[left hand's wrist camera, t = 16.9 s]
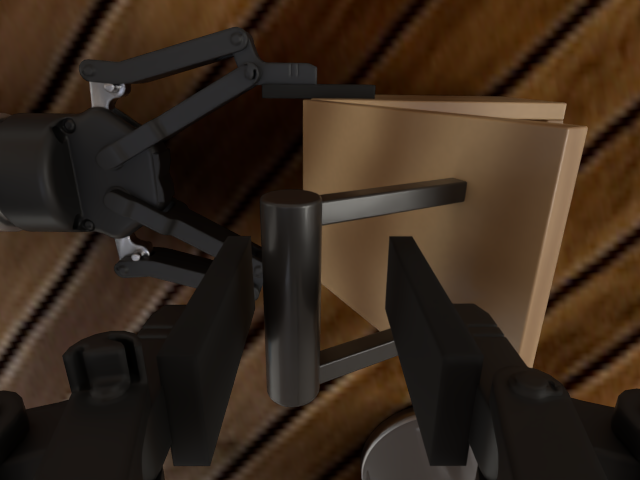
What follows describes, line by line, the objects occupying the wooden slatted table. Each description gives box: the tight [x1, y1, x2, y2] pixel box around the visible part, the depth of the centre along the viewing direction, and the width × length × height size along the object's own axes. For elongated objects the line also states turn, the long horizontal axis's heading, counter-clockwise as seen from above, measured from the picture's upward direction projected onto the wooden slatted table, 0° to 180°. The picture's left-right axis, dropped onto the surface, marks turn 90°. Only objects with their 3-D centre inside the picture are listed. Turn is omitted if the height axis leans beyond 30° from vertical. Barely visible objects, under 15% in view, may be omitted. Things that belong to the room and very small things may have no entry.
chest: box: [311, 95, 566, 124], centre depth 29 cm, size 14×10×9 cm
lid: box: [260, 100, 588, 407], centre depth 17 cm, size 14×10×8 cm
